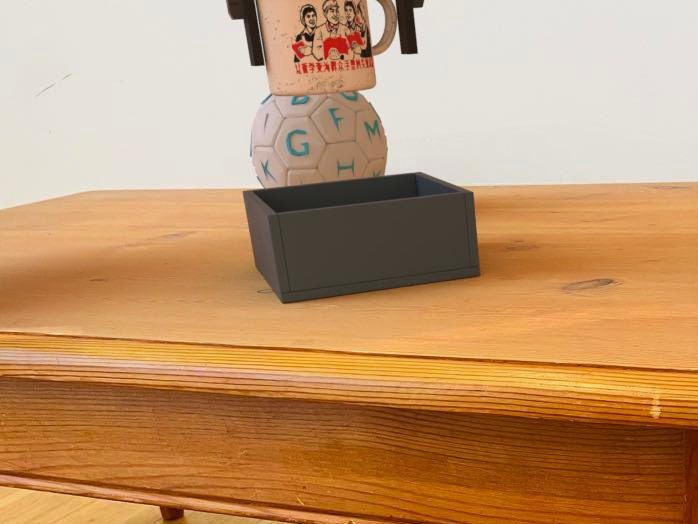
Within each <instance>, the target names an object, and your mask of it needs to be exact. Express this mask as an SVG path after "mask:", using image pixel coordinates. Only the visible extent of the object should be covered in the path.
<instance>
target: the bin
mask: <svg viewBox="0 0 698 524" xmlns="http://www.w3.org/2000/svg"><path fill="white" fill-rule="evenodd" d="M474 194H475V193H474V191H471V190H469V189H467V188H464V187H462V186H458V185H456V184H454V183H451V182H448V181H446V180H444V179H440V178H438V177H435V176H432V175H430V174H428V173H426V172H425V173H424V172H422V171H415V172H406V173H405V172H404V173H395V174H385V176H376V177H367V178H358V179H348V180H339V181H330V182H321V183H311V184H302V185H293V186H284V187H274V188H265V189H264V188H257V189H249V190H248V189H247V190H242V196H243V203H244V209H245V214H246V220H247V226H248V233H249V237H250V242H251V248H252V254H253V258H254V259H253V260H254V265H255V268H256V269H257V271H258V273H259V274H260V275H261V276H262V277H263V279H264V280H265V282H266V283H267V285H269V287H270V289H271V290H272V292H273V293H274V294H275V295H276V296H277V298H278V299H279V301H280V302H281V303H282V304H289V303H295V302H303V301H309V300H316V299H317V300H318V299H325V298H331V297H338V296H345V295H353V294H359V293H367V292H374V291H381V290H388V289H396V288H403V287H409V286H417V285H418V286H419V285H425V284H430V283H431V284H433V283H438V282H447V281H452V280H453V281H454V280H460V279H466V278H467V279H468V278H474V277H480V276H481V267H480V255H479V252H480V251H479V242H478V230H477V218H476V208H475V195H474Z"/></svg>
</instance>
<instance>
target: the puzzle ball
mask: <svg viewBox="0 0 698 524" xmlns="http://www.w3.org/2000/svg"><path fill="white" fill-rule="evenodd" d="M260 105H261V106H260V107H259V108H258V110H257V112H256V113H255V117H254V119H253V121H252V125H251V128H250V129H251V131H250V132H251V133H250V149H249V157H251V163H252V165H253V167H254V173H255V175H256V179H257V181H258V182H259V183H260V185H261V186H262V187H263V189H265V188H274V187H284V186H293V185H302V184H311V183H321V182H330V181H339V180H348V179H358V178H367V177H376V176H385V175H386V167H387V164H388V163H387V161H388V151H389V147H388V138H387V135H386V134H385V133H386V132H385V128H384V126H383V124H382V123H383V122H382V120H381V117H380V115H379V114H378V112H377V111H376V109H375V108H374V106H373V104H372V103H371V101H368V99H367V98H366V97H365V95H363V94H362V93H360V91H354V92H344V93H334V94H321V95H306V96H275V95H273V94H271V92H270V93H269V94H268V95H267V96H266V97H265V98H264V99H263V100H262V101H261V103H260Z"/></svg>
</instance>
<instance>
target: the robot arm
mask: <svg viewBox="0 0 698 524" xmlns="http://www.w3.org/2000/svg"><path fill="white" fill-rule="evenodd" d="M394 2H395V9H396V14H397V29H398V37H399V39H398V40H399V47H400V48H399V49H400V55H418V54H419V50H418V40H417V39H418V38H417V30H416V29H417V28H416V20H415V12H414V9H421V8H423V7H424V4H425V0H394ZM225 3H226V8H227V9H226V10H227V14H228V16H229V17H230V20H232V21H237V20H239V21H240V20H243V25H244V26H243V27H244V32H245V37H246V44H247V50H248V56H249V63H250V66H251V67H263V66H264V67H266V65H265V58H264V52H263V46H262V40H261V33H260V27H259V21H258V15H257V8H256V2H255V0H225Z"/></svg>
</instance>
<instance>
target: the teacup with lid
mask: <svg viewBox="0 0 698 524" xmlns="http://www.w3.org/2000/svg"><path fill="white" fill-rule="evenodd" d="M375 1H376V2H377V3H378V4H379V5H380V6H381V7H382V10H383V13H384V27H383V28H384V29H383V32H382V35H381V37H380V39H379V41H378V42H376V44H375V45H373V43H372V42H373V41H372V34H371V25H370V17H369V16H370V15H369V9H368V0H255V7H256V13H257V19H258V26H259V32H260V38H261V44H262V51H263V57H264V63H265V70H266V76H267V84H268V90H269V92H270V93H271V94H273V95H275V96H306V95H321V94H334V93H344V92H354V91H358V92H362V91H367V90H372V89H374V88H375V87H376V86H377V76H376V67H375V59H374V58H375V57H376V56H379V55H381V54H383V53H385V52H386V51H387V50H388V49H389V48H390V47H391V45H392V44H393V41H394V40H395V37H396V33H397V29H398V21H397V12H396V5H395V3H394V2H393V0H375Z"/></svg>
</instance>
